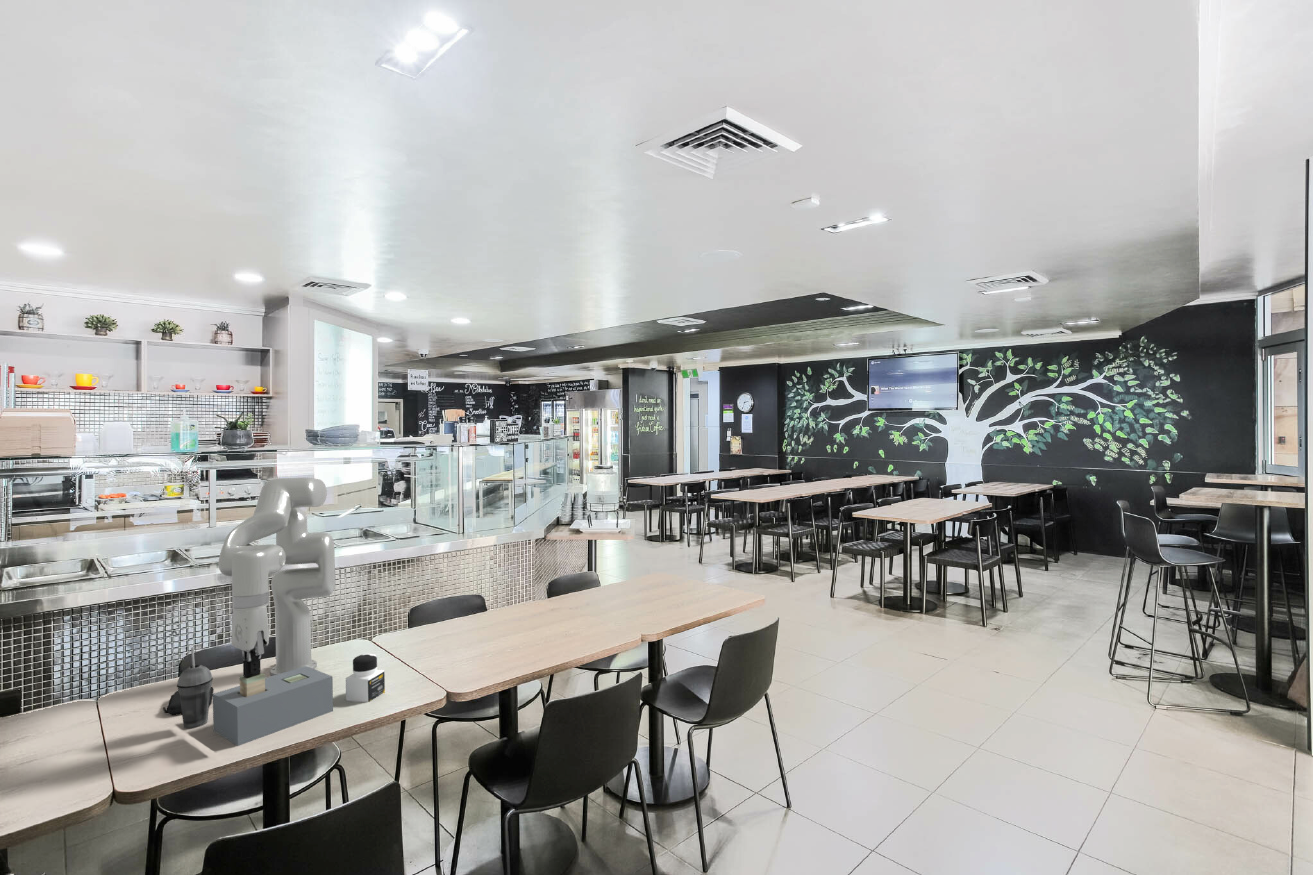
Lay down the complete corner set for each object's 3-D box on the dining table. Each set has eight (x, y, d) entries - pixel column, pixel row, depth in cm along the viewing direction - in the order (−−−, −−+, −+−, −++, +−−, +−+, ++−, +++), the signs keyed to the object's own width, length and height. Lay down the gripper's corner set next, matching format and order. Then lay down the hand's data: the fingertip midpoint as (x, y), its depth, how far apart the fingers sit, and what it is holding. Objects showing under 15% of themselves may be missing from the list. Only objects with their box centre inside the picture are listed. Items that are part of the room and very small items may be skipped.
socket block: (213, 734, 152) (212, 693, 152) (306, 702, 170) (306, 665, 170) (238, 750, 144) (237, 706, 144) (333, 714, 162) (332, 676, 162)
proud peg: (240, 713, 152) (239, 676, 153) (258, 707, 156) (257, 671, 156) (247, 717, 150) (246, 679, 150) (265, 711, 153) (264, 674, 153)
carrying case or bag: (167, 701, 174) (160, 720, 161) (167, 690, 174) (160, 709, 161) (214, 692, 180) (211, 710, 167) (213, 681, 180) (211, 699, 167)
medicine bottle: (368, 705, 167) (367, 661, 167) (345, 704, 169) (344, 659, 169) (385, 695, 174) (384, 652, 174) (362, 693, 176) (362, 650, 176)
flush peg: (284, 714, 161) (283, 679, 161) (300, 708, 164) (299, 674, 164) (291, 717, 158) (290, 682, 158) (307, 712, 162) (307, 677, 162)
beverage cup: (185, 737, 151) (183, 655, 151) (172, 730, 155) (170, 650, 155) (219, 725, 157) (217, 646, 157) (205, 719, 161) (204, 641, 161)
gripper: (220, 600, 154) (221, 674, 154) (247, 608, 146) (248, 687, 145) (254, 594, 160) (255, 665, 160) (281, 601, 152) (282, 676, 152)
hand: (252, 675), depth 153 cm, fingers closed
